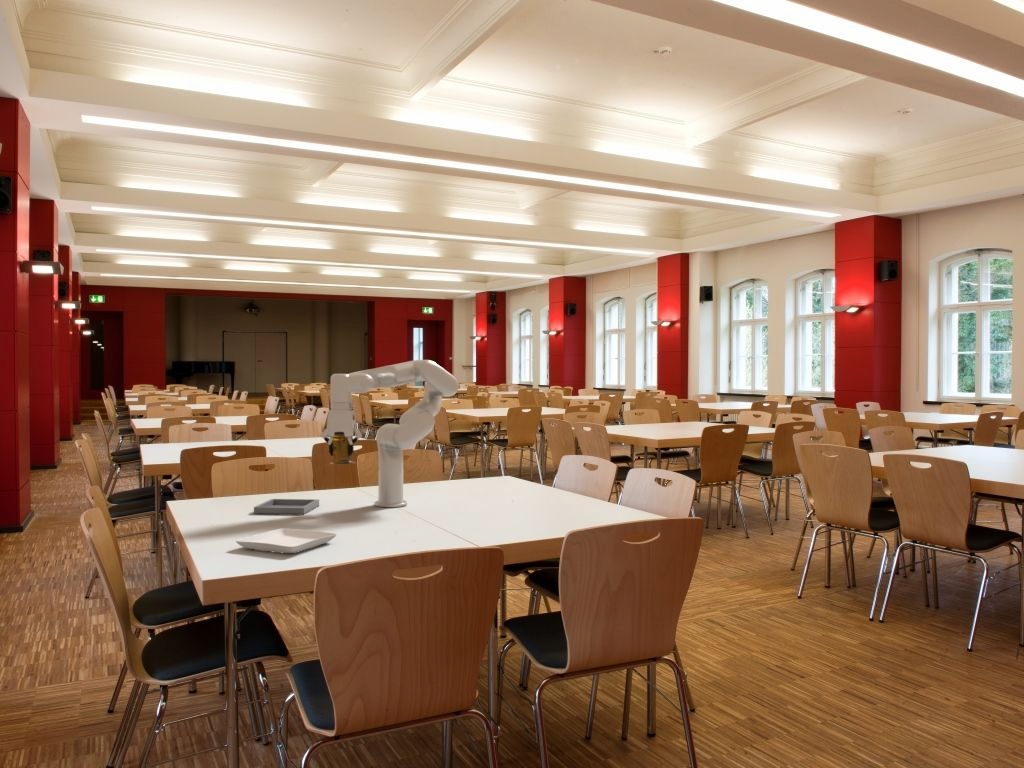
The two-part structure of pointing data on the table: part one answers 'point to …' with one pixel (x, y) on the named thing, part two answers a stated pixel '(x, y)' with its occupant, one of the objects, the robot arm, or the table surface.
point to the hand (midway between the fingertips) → (341, 454)
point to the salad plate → (286, 540)
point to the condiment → (340, 449)
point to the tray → (286, 506)
